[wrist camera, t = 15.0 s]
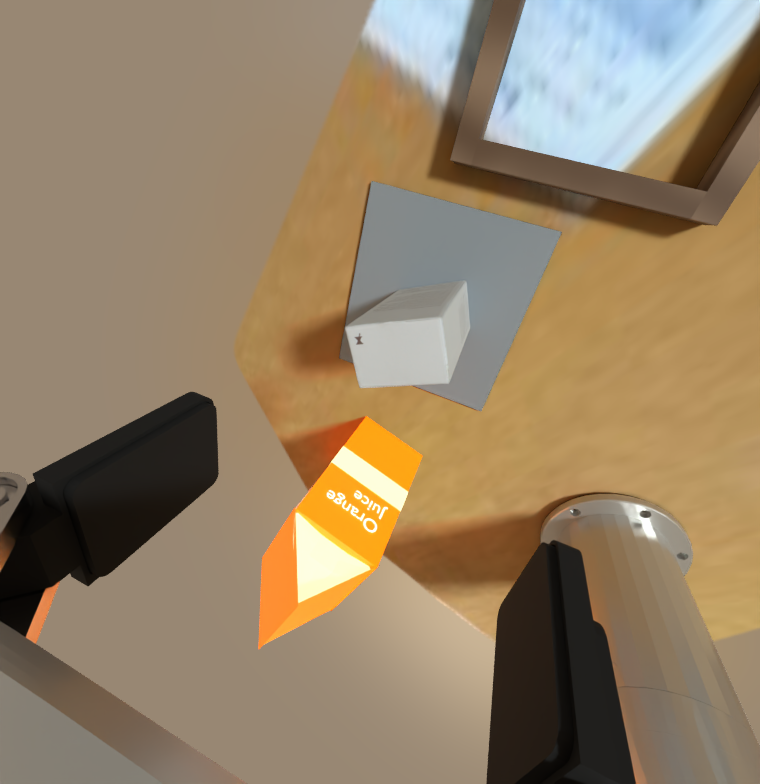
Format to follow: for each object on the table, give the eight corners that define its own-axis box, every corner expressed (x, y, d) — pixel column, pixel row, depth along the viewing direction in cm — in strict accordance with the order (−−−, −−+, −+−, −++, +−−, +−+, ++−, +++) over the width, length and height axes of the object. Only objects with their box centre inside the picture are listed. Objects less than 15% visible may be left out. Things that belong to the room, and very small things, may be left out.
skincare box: (406, 335, 33) (355, 389, 23) (398, 288, 32) (341, 325, 21) (473, 329, 31) (450, 386, 21) (468, 278, 29) (441, 313, 19)
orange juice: (423, 456, 39) (349, 642, 22) (385, 499, 44) (299, 681, 27) (365, 414, 39) (247, 567, 22) (332, 462, 44) (215, 619, 27)
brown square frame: (702, 224, 23) (717, 225, 22) (454, 163, 27) (450, 159, 25) (932, -139, 16) (981, -181, 14) (546, -165, 19) (549, -202, 17)
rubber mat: (481, 409, 34) (481, 411, 34) (340, 356, 37) (339, 358, 37) (561, 231, 26) (561, 232, 26) (373, 181, 29) (371, 181, 29)
